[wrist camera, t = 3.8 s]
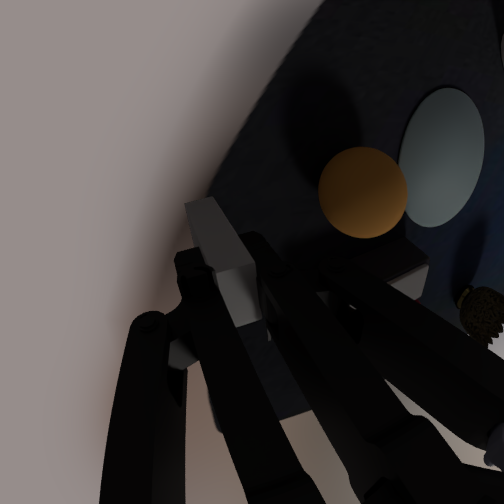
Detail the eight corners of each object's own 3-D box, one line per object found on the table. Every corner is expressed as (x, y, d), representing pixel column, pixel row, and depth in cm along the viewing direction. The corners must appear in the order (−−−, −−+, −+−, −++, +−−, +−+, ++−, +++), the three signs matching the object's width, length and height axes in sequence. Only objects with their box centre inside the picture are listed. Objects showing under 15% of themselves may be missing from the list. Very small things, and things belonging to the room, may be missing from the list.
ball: (365, 129, 19) (425, 150, 14) (373, 199, 22) (424, 232, 18) (294, 152, 18) (346, 180, 14) (310, 227, 21) (356, 270, 17)
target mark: (480, 82, 20) (482, 82, 20) (479, 200, 27) (480, 201, 27) (389, 99, 18) (391, 99, 18) (398, 247, 26) (400, 248, 26)
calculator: (319, 408, 29) (321, 317, 20) (302, 377, 33) (294, 278, 24) (404, 362, 31) (437, 261, 22) (384, 337, 35) (404, 234, 26)
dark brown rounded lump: (437, 307, 34) (478, 346, 28) (471, 262, 33) (515, 296, 26) (450, 321, 38) (485, 355, 32) (480, 282, 37) (517, 313, 30)
